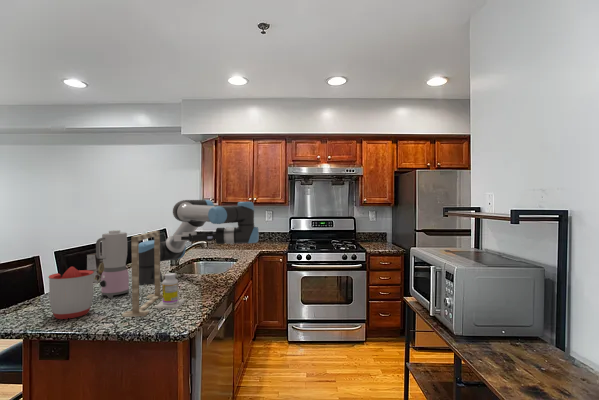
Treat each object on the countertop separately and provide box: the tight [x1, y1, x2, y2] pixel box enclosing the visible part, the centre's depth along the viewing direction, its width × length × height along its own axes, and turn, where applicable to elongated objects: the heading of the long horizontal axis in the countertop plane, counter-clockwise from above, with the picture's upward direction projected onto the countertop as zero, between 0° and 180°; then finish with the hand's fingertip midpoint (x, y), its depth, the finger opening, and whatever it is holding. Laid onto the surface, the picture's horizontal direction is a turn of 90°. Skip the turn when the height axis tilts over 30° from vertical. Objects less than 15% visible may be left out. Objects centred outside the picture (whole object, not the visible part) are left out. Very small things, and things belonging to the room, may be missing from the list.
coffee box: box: [86, 252, 104, 283], centre depth 205 cm, size 9×6×16 cm
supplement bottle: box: [161, 272, 179, 305], centre depth 155 cm, size 7×7×13 cm
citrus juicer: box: [48, 266, 94, 320], centre depth 142 cm, size 16×17×20 cm
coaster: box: [154, 298, 186, 309], centre depth 155 cm, size 10×10×1 cm
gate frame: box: [121, 230, 163, 318], centre depth 154 cm, size 30×9×32 cm, turn 4°
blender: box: [95, 229, 130, 299], centre depth 172 cm, size 16×12×32 cm
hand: (178, 236), depth 159 cm, fingers open, 13 cm apart
